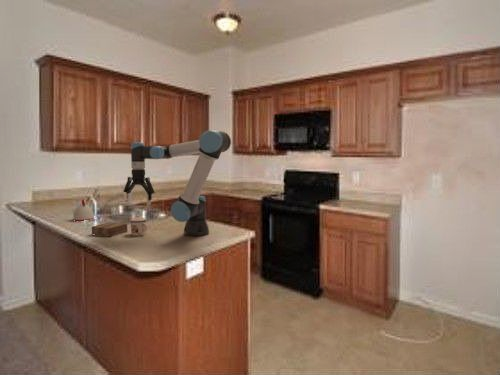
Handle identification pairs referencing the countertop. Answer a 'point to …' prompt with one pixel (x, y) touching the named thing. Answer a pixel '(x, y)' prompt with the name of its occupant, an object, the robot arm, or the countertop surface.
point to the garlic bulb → (83, 212)
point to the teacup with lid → (138, 226)
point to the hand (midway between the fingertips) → (139, 204)
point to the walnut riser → (109, 229)
